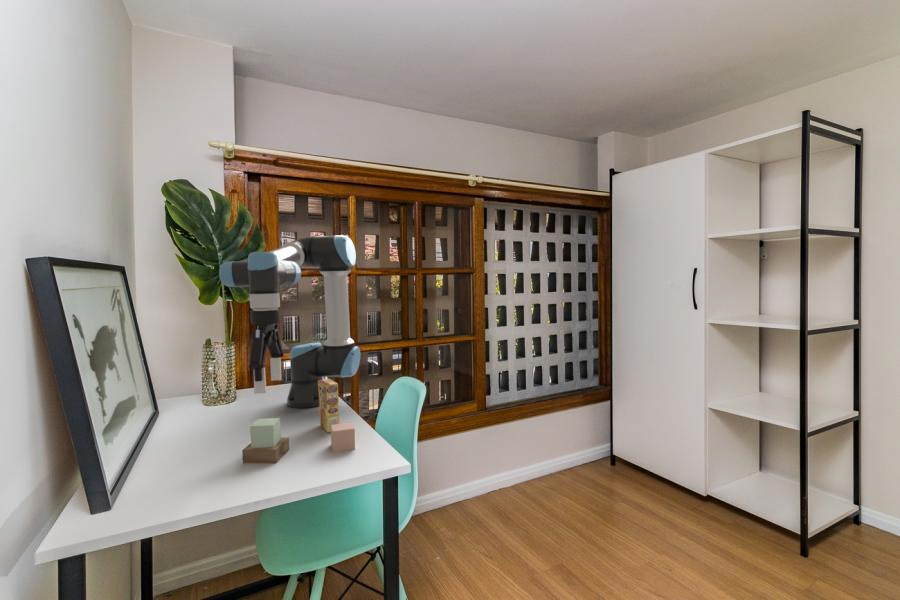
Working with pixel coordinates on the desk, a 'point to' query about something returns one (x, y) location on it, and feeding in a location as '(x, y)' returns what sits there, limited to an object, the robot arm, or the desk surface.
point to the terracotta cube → (342, 437)
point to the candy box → (328, 403)
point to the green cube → (265, 433)
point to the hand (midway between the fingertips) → (268, 386)
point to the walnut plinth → (266, 452)
